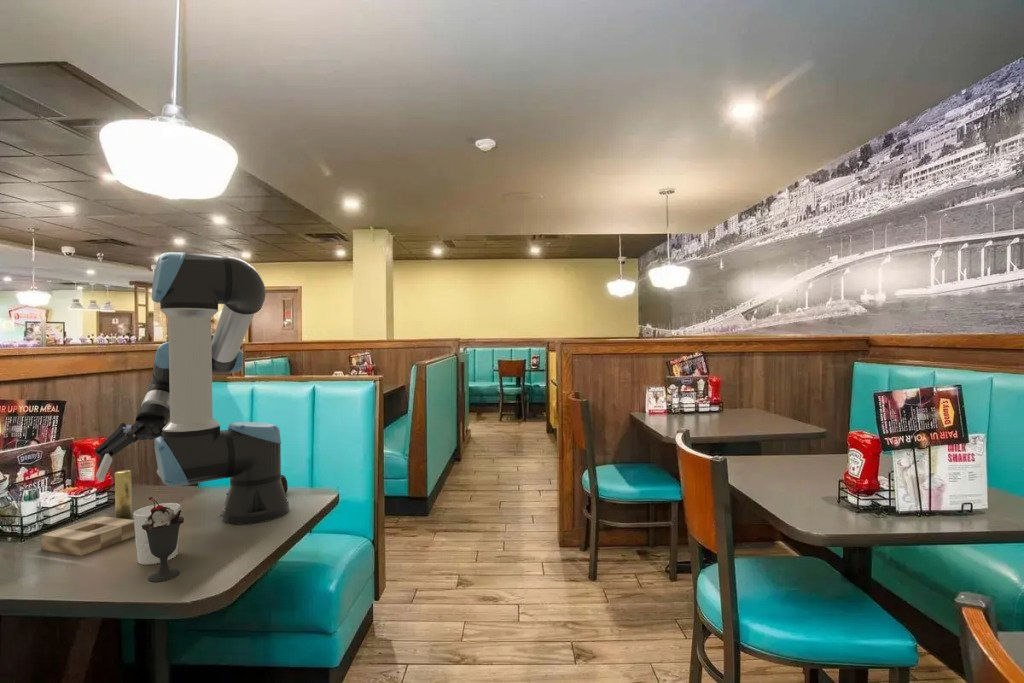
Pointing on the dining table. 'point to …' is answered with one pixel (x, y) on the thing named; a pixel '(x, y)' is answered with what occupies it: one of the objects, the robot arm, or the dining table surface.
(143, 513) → the white cup
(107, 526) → the oak socket block
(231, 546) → the dining table surface
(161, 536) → the sundae
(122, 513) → the brass pin
